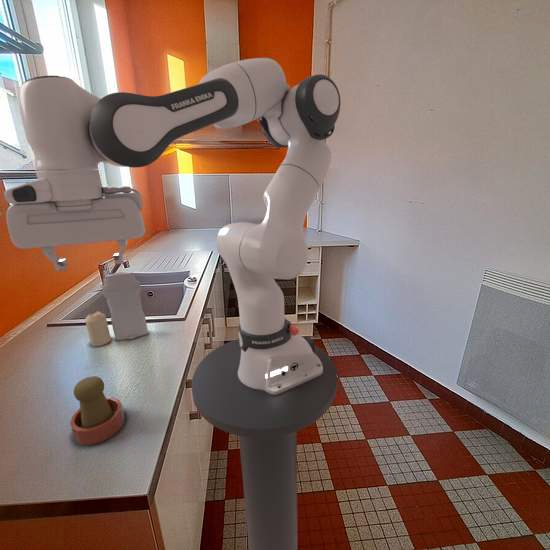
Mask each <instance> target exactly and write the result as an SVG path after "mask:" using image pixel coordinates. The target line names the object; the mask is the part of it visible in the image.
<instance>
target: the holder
mask: <svg viewBox="0 0 550 550" xmlns="http://www.w3.org/2000/svg"><path fill="white" fill-rule="evenodd" d="M105 397H106V399H107V402H108V404H109V406H110V408H111V410H112V412H113V414H114V416H113V417H111V418H110V419H109V420H108V421H106V422H105V423H103V424H101V425H99V426H96V427H92V428H88V429H86V428H82V419H81V410H80V408H78V409H77V410H76V412H74V413H73V415H72V416H71V419H70V423H69V424H70V428H71V430H72V434H73V436H74V439H75V441H76V443H78V444H80V445H83V446H89V445H90V446H91V445H95V444H99V443H101V442H104V441H106V440H108V439H109V438H111V437H113V436H114V435H115V434H117V432H118V431H120V429H121V428H122V426H123V425H124V422H125V412H124V409H123V404H122V402H121V400H120V399H119V398H116V397H114V396H105Z"/></svg>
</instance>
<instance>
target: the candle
mask: <svg viewBox="0 0 550 550" xmlns="http://www.w3.org/2000/svg"><path fill="white" fill-rule="evenodd" d="M84 322H85V326H86V330H87V333H88V334H87V335H88V337H89V340H90V344H91V346H93V347H100V346H104V345H106V344H108V343H109V342H111V339H112V338H111V333H110V328H109V325H108V320H107V317H106V314H105V313H103V312H101V311H95V312H93V313H89V314H87V316H86V317H85V319H84Z"/></svg>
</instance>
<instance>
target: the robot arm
mask: <svg viewBox="0 0 550 550" xmlns="http://www.w3.org/2000/svg"><path fill="white" fill-rule="evenodd" d="M17 93H18V95H17V97H18V99H17V100H18V107H19V113H20V118H21V123H22V127H23V130H24V134H25V138H26V141H27V144H28V145H29V146H30V148H31V150H32V152H33V153H32V154H33V156H34V169H35V170H34V171H35V174H36V179H35V180H32V181H27V182H25V183H22V184H20V185H17V186H16V185H15V186H13V187H11V188H8V189H5V190H4V192H3V195H4V198H5V200H6V202H7V203H9V204H11V205H9V207H8V208H7V210H6V213H5V214H6V224H7V230H8V233H9V237H10V241H11V243H12V244H13V245H14V246H15V247H16V248H18V249H19V250H27V249H38V248H41V253H42V254H43V255H44V256H45V257H46V258H47V259H48V260H49V261H50V262H52V263H53V265H54V269H55V271H56V272H60V271H61V272H62V271H67V270H68V268H69V266H68V263H67V259H66V258H60V257H59V255H57V253H55V251H56V250H57V248H56V247H59V246H70V245H71V246H72V245H80V244H81V245H82V244H91V243H92V244H93V243H102V242H103V243H104V242H114V241H116V243H117V246H118V247H120V249H119V252H116V253H114V254H113V256H112V257H113V260H114V264H115V265H122V264H125V256H124V253H125V250H126V248H127V245H128V240H134V239H142V238H143V237H144V235H145V234H146V226H145V221H144V217H143V214H142V212H141V210H142V209H143V206H144V205H143V199H142V198H143V197H142V194H141V193H140V192H139V190H138V189H135V188H131V186H128V185H127V186H103V184H102V179H101V178H102V177H101V174H100V169H99V165H100V163H103V164H109V165H112V166H116V167H120V168H121V167H122V168H144V167H147V166H149V165H152V163H154V162H155V161H157V160H158V159H159V158H160V157H161V156H162V155H163V153H165V151H166V150H167V148H169V146H170V145H171V144H172V143H173V142H174V141H176V140H178V139H179V138H180V139H181V138H182V137H184V136H187V135H190V134H192V133H195V132H197V131H199V130H202V129H204V128H206V127H210V126H213V127H215V128H217V129H219V130H224V129H231V128H237V127H240V126H243V125H245V124H249V123H251V122H253V121H255V120H257V121H258V124H259V125H260V127H261V130H262V132H263V135H264V137H265V138H266V140H267V142H268V143H270V144H271V145H272V146H274V147H276V148H279V149H281V148H287V152H286V155H285V158H284V159H283V161H282V162H281V163H280V165H279V167H278V169H277V170H276V172H275V173H274V176H273V177H272V178H271V180H270V181H269V183H268V185H267V187H266V188H265V190H264V192H263V199H262V200H263V203H264V206H265V207H266V212H265V215H264V218H263V220H261V221H262V222H260V223H254V222H249V221H238V222H232V223H227V224H225V225H224V226H223V227H221V229H219V232H218V234H217V235H216V241H215V247H216V250H217V253H218V254H219V255H220V257H221V258H222V260H223V261H224V263H225V265H226V267H227V270H228V272H229V275H230V278H231V281H232V284H233V286H234V290H235V293H236V297H237V303H238V314H239V322H240V323H239V324H238V339H239V342H240V346H241V358H240V365H239V369H238V378H239V380H240V381H241V382H242V383H243V384H244V385H246V386H248V387H250V388H253V389H259V390H264V391H266V392H268V393H270V394H273V395H277V394H280V393H282V392H284V391H287V390H289V389H291V388H293V387H296V386H298V385H300V384H302V383H305V382H307V381H309V380H311V379H314V378H316V377H318V376H320V375H322V374H323V366H322V363H321V361H320V359H319V358H318V357H317V355H316V354H315V353H314V352H315V346H316V342H315V341H314V340H312V339H311V337H309V336H307V335H305V336H301V335H300V334H299V332H300V331H299V328H298V327H297V326H296V325H293V324H292V322H291V321H290V320H288V319H287V318H286V317H285V296H284V292H283V291H282V289H281V287H280V286H279V284H277V282H276V280H293V279H295V278H297V277H299V276H300V275H301V274H302V273H303V271H304V270H305V268H306V266H307V264H308V260H309V247H308V243H307V241H306V240H305V238H304V234H303V233H304V231H303V230H304V223H305V219H306V217H307V214H308V212H309V210H310V209H311V207H312V205H313V203H314V201H315V199H316V197H317V195H318V193H319V192H320V189H321V188H322V186H323V183H324V181H325V179H326V177H327V174H328V172H329V168H330V166H331V162H332V152H331V148H330V147H329V145H328V144H327V143H326V141H325V140H326V139H329V138H330V137H331V136H332V135H333V133H334V132H335V127H336V123H337V121H338V119H339V116H340V112H341V94H340V91H339V89H338V85H336V83H335V81H334V80H333V79H332V78H331V77H329V76H327V75H325V74H314V75H311V76H308V77H306V78H304V79H302V80H301V81H300V82H299V83H298V84H296V85H294V86H293V87H291V85H289V84H288V83H287V79H286V75H285V72H284V70H283V68H282V67H281V65H280V64H279V63H278V62H277V61H276V60H274V59H272V58H269V57H255V58H254V57H253V58H247V59H241V60H237V61H234V62H230V63H227V64H224V65H221V66H219V67H217V68H215V69H213V70H212V71H210V72H208V73H206V74H205V75H203V76H202V77H201V78H200V80H199V83H197V84H195V85H191V86H188V87H185V88H180V89H178V90H175V91H172V92H168V93H165V94H160V95H155V96H154V95H153V96H152V95H151V96H150V95H143V94H138V93H133V92H125V91H124V92H123V91H121V92H120V91H119V92H112V93H109V94H106V95H105V96H103V97H101V98H100V97H98V96H97V95H95V94H93V93H91V92H89V91H88V90H87V89H85V88H83V87H82V86H81V85H79V84H78V83H76V81H74V80H73V79H72V78H71V77H70V78H69V77H66V76H61V75H41V76H40V75H39V76H35V77H32V78H28V79H26V80H25V81H24V82H23V83H22V84H21V85H20V86H19V89H18V92H17Z"/></svg>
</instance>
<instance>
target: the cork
mask: <svg viewBox="0 0 550 550" xmlns="http://www.w3.org/2000/svg"><path fill="white" fill-rule="evenodd" d="M73 388H74V389H73V395H74V398H75V399H76V400H77V401H78V402H79V409H80V410H81V419H82V428H86V429H88V428H92V427H96V426H99V425H101V424H103V423H105V422H106V421H108V420H109V419H110V418H111V417H113V416H114V414H113V412H112V410H111V408H110V406H109V404H108V402H107V399H106V397H107V396H106V395H105V393H104V390H105V382H104V380H103V379H102V378H101V377H99V376H97V375H94V376H93V375H91V376H88V377H85V378H83V379H81V380H79V381H78V382H77V383H76V384H75V386H74V387H73Z"/></svg>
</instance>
